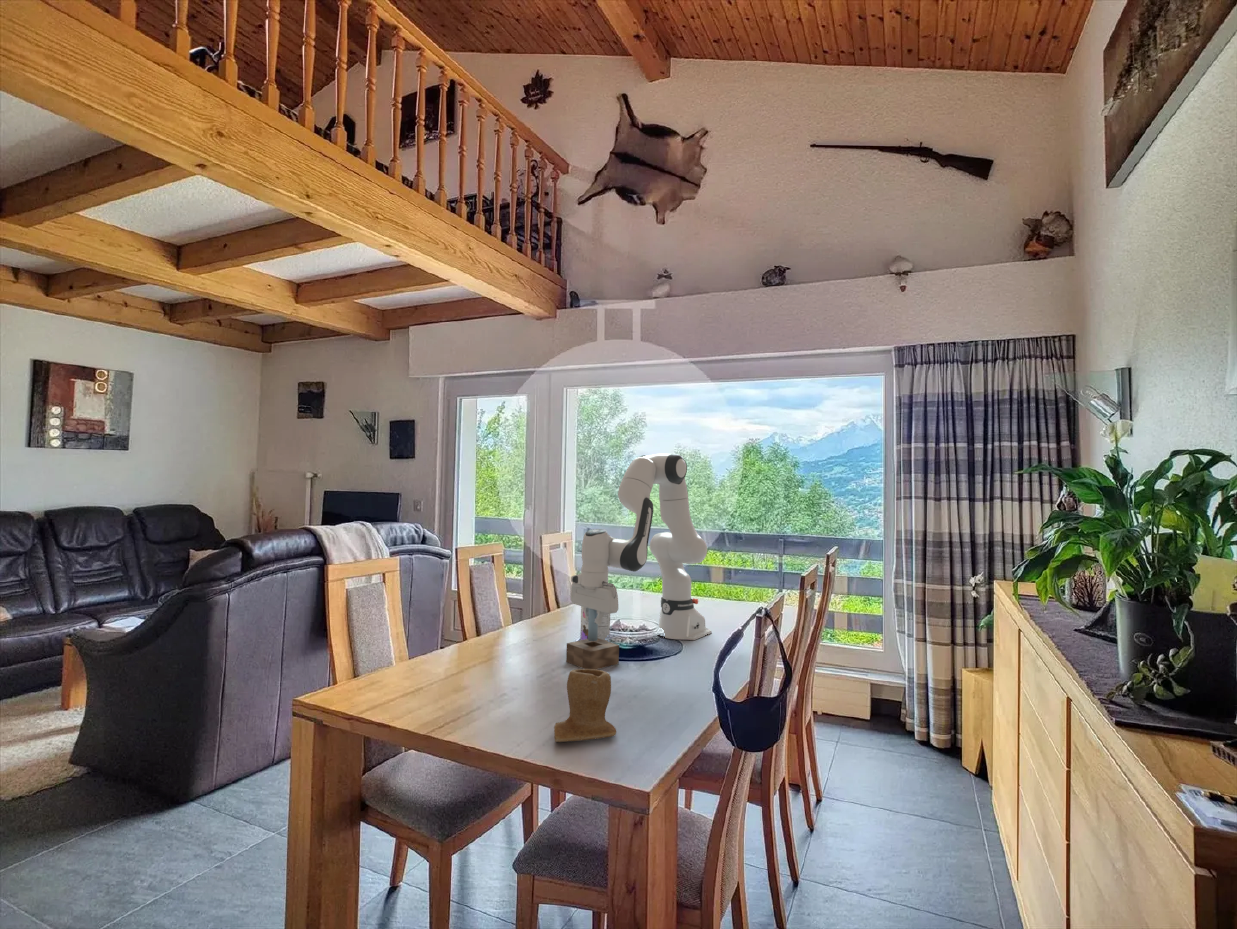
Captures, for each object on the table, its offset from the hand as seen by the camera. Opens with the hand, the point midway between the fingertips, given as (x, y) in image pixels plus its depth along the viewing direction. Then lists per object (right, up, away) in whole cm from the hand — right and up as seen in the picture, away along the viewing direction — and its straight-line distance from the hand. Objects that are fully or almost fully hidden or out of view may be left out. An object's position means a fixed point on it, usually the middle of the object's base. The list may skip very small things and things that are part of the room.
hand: (593, 622), depth 201 cm
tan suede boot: (0, -12, -56) cm, 57 cm away
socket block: (0, -13, 0) cm, 13 cm away
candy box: (0, -14, +17) cm, 22 cm away
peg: (0, -6, 0) cm, 6 cm away
